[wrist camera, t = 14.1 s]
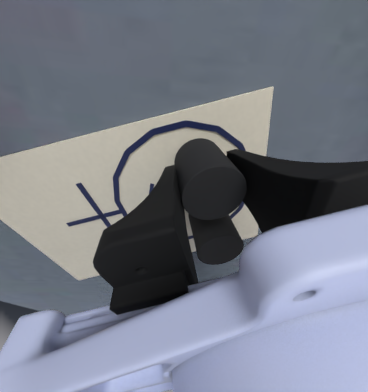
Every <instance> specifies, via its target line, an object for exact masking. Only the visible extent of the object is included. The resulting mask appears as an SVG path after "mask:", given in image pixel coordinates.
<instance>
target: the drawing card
mask: <svg viewBox="0 0 368 392" xmlns="http://www.w3.org/2000/svg"><path fill="white" fill-rule="evenodd" d="M273 88H274V87H268V88H264V89H260V90H256V91H252V92H248V93H244V94H241V95H237V96H233V97H229V98H225V99H221V100H217V101H214V102H210V103H206V104H202V105H198V106H194V107H190V108H187V109H183V110H179V111H175V112H171V113H167V114H164V115H160V116H156V117H152V118H148V119H144V120H140V121H137V122H133V123H129V124H125V125H121V126H117V127H113V128H110V129H106V130H102V131H98V132H94V133H90V134H86V135H83V136H79V137H75V138H71V139H67V140H63V141H59V142H56V143H52V144H48V145H44V146H40V147H36V148H32V149H29V150H25V151H21V152H17V153H13V154H9V155H5V156H2V157H0V220H2V221H3V222H4V223H5V224H7V225H8V226H9V227H11V228H12V229H13V230H14V231H16V232H17V233H18V234H20V235H21V236H22V237H23V238H25V239H26V240H27V241H28V242H30V243H31V244H32V245H34V246H35V247H36V248H37V249H39V250H40V251H41V252H43V253H44V254H45V255H46V256H48V257H49V258H50V259H52V260H53V261H54V262H55V263H57V264H58V265H59V266H61V267H62V268H63V269H64V270H66V271H67V272H68V273H69V274H71V275H72V276H73V277H75V278H76V279H77V280H82V279H86V278H90V277H94V276H99V275H100V274H99V273H98V272H97V271H96V270H95V268H94V266H93V259H94V256H95V252H96V249H97V246H98V243H99V240H100V238H101V235H102V232H103V230H104V229H106V228H108V227H109V226H111V225H112V224H114V223H116V222H117V221H119V220H120V219H122V218H123V217H124V216H126V215H127V214H129V213H130V212H131V211H132V210H134V209H135V208H136V207H137V206H138V205H139V204H140V203H141V202H142V201H143V200H144V199H145V198H146V197H147V196H148V195H149V194H150V192H151V191H152V190H153V188H154V187H155V185H156V184H157V182H158V180H159V179H160V177H161V175H162V173H163V170H164V168H165V167H167V166H171V165H174V160H175V156H176V153H177V152H178V150H179V149H180V147H181V146H182V145H184V144H185V143H186V142H188V141H190V140H193V139H197V138H204V139H208V140H211V141H212V142H214V143H215V144H216V145H217V146H218V147H219V148H220V149H221V151H222V152H223V153H224V154H225V155H226V156H227V152H226V151H230V150H234V149H239V150H243V151H247V152H251V153H255V154H258V155H262V156H266V152H267V143H268V134H269V124H270V115H271V106H272V97H273ZM184 210H185V209H184ZM188 214H189V213H188V212H187V211H186V210H185V220H186V228H187V234H188V238H189V243H190V247H191V252H195V251H196V247H195V243H194V238H193V234H192V230H191V226H190V221H189V217H188ZM229 216H230V218H231V220H232V222H233V224H234V225H235V227H236V229H237V231H238V233H239V235H240V237H241V239H242V240H243V239H247V238H251V237H255V236H257V235H258V224H257V222H256V221H255V219H254V217H253V215H252V214H251V212H250V211H249V209H248V208H247V207H246V205H245V204H244V202H243V201H242V203H241V204H240V205H239V206H238V208H236V209H235V210H234V211H233V212H231V213H230V214H229Z"/></svg>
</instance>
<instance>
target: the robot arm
mask: <svg viewBox="0 0 368 392" xmlns="http://www.w3.org/2000/svg"><path fill="white" fill-rule="evenodd" d="M226 152H227V157H228V158H229V160H230V161H231V162H232V163H233V164H234V165H235V166H236V167H237V169H238V170H239V171H240V172H241V173H242V174H243V176H244V177H245V180H246V183H247V191H246V195H245V197H244V199H243V202H244V204H245V205H246V207H247V208H248V209H249V211H250V212H251V214H252V215H253V217H254V219H255V221H256V222H257V224H258V226H259V228H260V230H261V232H262V233H261V234H259V235H257V236H256V237H255V238H254V239H253V240H251V241H250V242H249V243H248V244H247V245H246V246H245V248H244V250H243V252H242V254H241V257H240V259H239V271H238V272H235V273H233V274H231V275H228V276H226V277H222V278H218V279H213V280H209V281H205V282H201V283H198V279H197V274H196V270H195V265H194V261H193V257H192V252H191V247H190V243H189V238H188V234H187V228H186V220H185V210H184V207H183V204H182V200H181V195H180V190H179V185H178V178H177V174H176V170H175V166H174V165H171V166H167V167H165V168H164V170H163V173H162V175H161V177H160V179H159V180H158V182H157V184H156V185H155V187H154V188H153V190H152V191H151V192H150V194H149V195H148V196H147V197H146V198H145V199H144V200H143V201H142V202H141V203H140V204H139V205H138V206H137V207H136V208H135V209H134V210H132V211H131V212H130V213H129V214H127V215H126V216H124V217H123V218H122V219H120V220H119V221H117V222H116V223H114V224H112V225H111V226H109V227H108V228H106V229H104V230H103V232H102V235H101V238H100V240H99V243H98V246H97V249H96V252H95V256H94V259H93V266H94V268H95V270H96V271H97V272H98V273H99V274H100V275H101V276H102V277H103V278H104V279H105V280H106V281H107V282H108V283H109V284H110V285H111V286H112V287H113V293H112V298H111V303H110V305H108V306H104V307H100V308H96V309H92V310H88V311H84V312H79V313H75V314H71V315H67V316H65V314H63V313H62V312H60V311H58V310H51V309H50V310H44V311H40V312H36V313H32V314H27V315H23V316H21V317H20V318H19V319H18V321H17V323H16V325H15V326H14V328H13V330H12V332H11V334H10V335H9V337H8V339H7V341H6V342H5V344H4V346H3V348H2V349H1V351H0V392H163V391H168V390H173V392H368V161H363V162H346V163H314V162H299V161H290V160H282V159H276V158H271V157H266V156H262V155H258V154H255V153H251V152H247V151H243V150H239V149H234V150H230V151H226Z"/></svg>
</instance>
